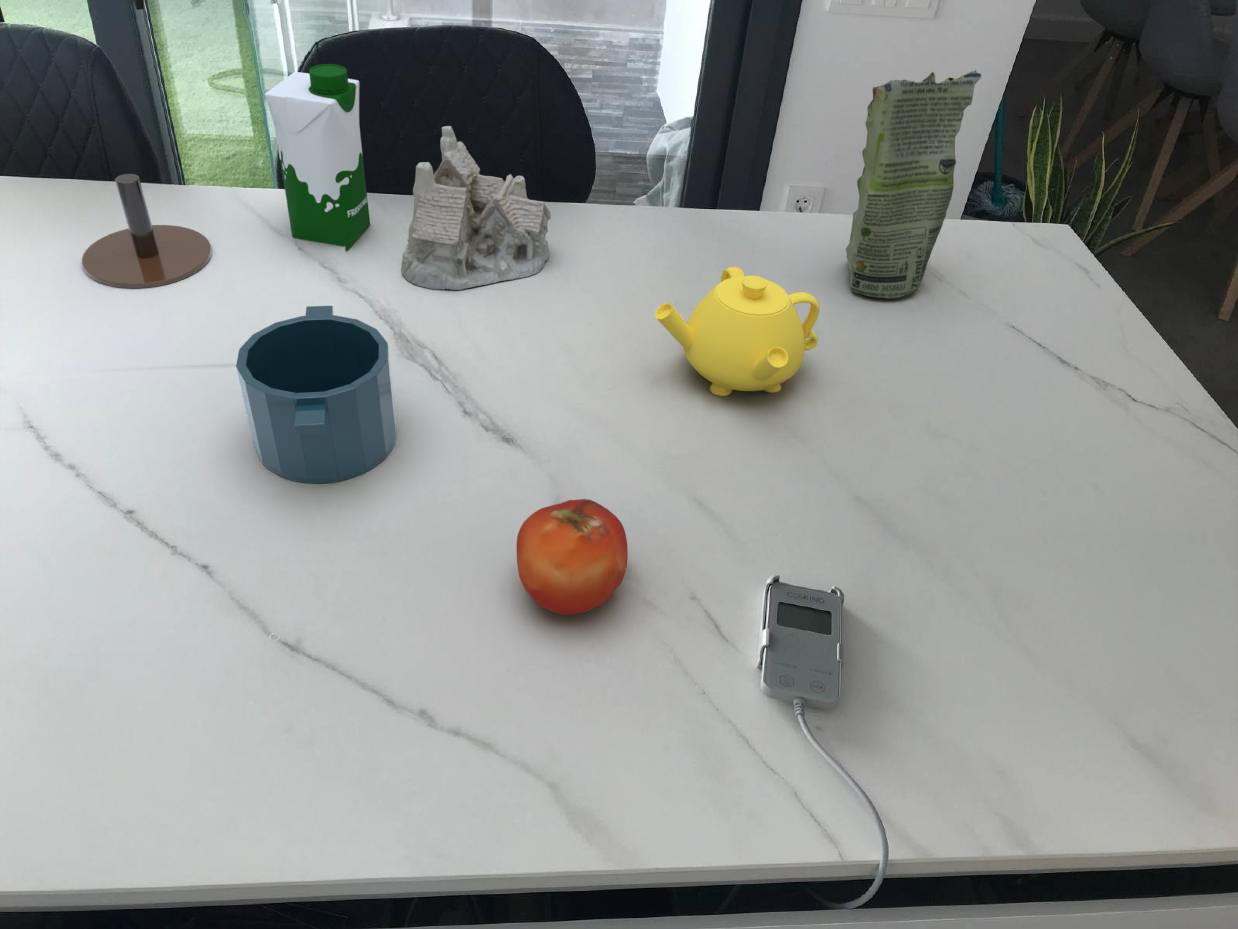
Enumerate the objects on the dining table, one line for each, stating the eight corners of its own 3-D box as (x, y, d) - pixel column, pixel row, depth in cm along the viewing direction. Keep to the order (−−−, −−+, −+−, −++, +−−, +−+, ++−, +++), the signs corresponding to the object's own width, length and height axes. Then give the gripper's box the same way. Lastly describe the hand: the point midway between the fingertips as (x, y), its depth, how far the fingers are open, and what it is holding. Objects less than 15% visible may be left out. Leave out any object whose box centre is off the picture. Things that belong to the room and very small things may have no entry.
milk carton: (352, 255, 117) (331, 86, 103) (280, 243, 118) (251, 74, 104) (380, 222, 123) (364, 60, 110) (312, 211, 124) (288, 49, 111)
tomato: (544, 647, 74) (546, 576, 69) (496, 567, 80) (495, 495, 75) (649, 607, 78) (659, 537, 73) (596, 533, 84) (601, 463, 79)
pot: (246, 509, 83) (225, 422, 77) (265, 384, 97) (247, 301, 90) (397, 498, 86) (388, 413, 79) (395, 378, 99) (387, 296, 93)
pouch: (822, 288, 118) (872, 80, 102) (844, 246, 127) (893, 47, 111) (914, 312, 116) (979, 102, 99) (929, 268, 124) (993, 67, 108)
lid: (72, 295, 106) (42, 208, 99) (98, 235, 116) (73, 152, 109) (204, 291, 109) (184, 205, 102) (219, 232, 119) (201, 151, 112)
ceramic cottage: (381, 273, 113) (379, 149, 104) (452, 221, 126) (456, 105, 116) (501, 316, 110) (510, 191, 101) (562, 258, 122) (575, 142, 113)
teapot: (643, 379, 102) (654, 286, 94) (707, 323, 111) (721, 234, 103) (767, 434, 96) (788, 339, 89) (823, 370, 105) (847, 280, 98)
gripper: (131, -164, 111) (193, 15, 112) (-127, -158, 101) (-57, 40, 101) (129, -213, 104) (194, -22, 105) (-149, -212, 94) (-74, 1, 94)
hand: (71, 9), depth 103 cm, fingers open, 13 cm apart
